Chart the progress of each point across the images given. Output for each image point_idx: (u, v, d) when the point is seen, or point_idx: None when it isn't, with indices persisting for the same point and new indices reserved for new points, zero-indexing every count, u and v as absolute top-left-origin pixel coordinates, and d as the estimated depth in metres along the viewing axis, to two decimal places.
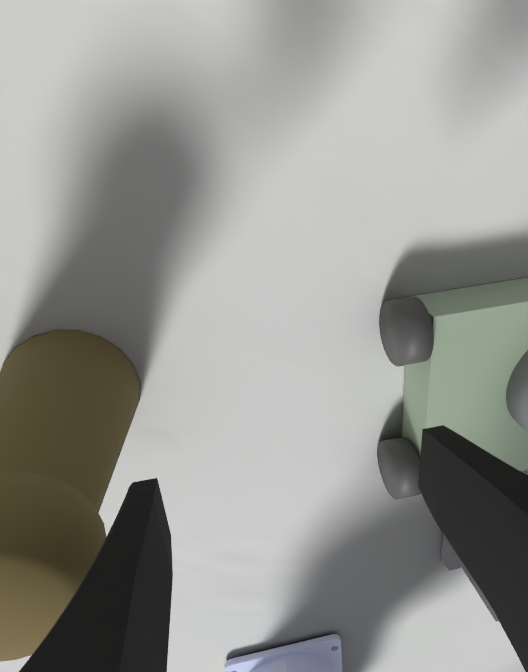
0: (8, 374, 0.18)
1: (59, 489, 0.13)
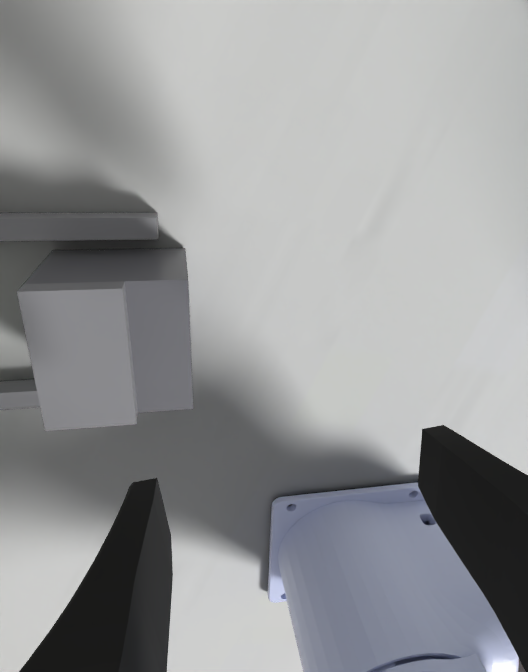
0: None
1: None
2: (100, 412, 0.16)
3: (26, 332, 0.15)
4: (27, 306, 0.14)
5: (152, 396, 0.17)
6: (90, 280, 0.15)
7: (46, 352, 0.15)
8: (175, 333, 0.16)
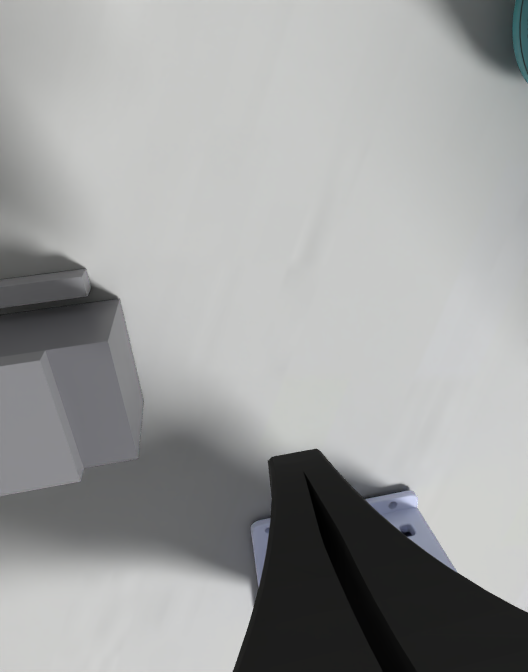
0: None
1: None
2: (43, 474, 0.17)
3: None
4: None
5: (95, 451, 0.17)
6: (13, 353, 0.15)
7: None
8: (105, 391, 0.16)
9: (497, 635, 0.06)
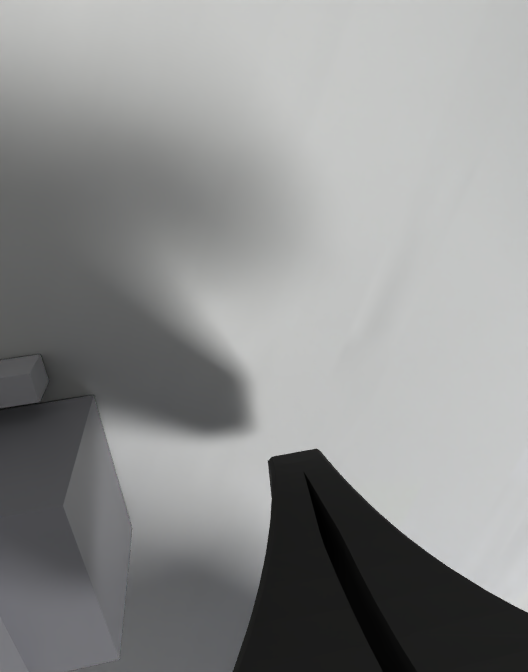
0: None
1: None
2: None
3: None
4: None
5: (49, 657, 0.11)
6: None
7: None
8: (62, 577, 0.10)
9: (497, 635, 0.06)
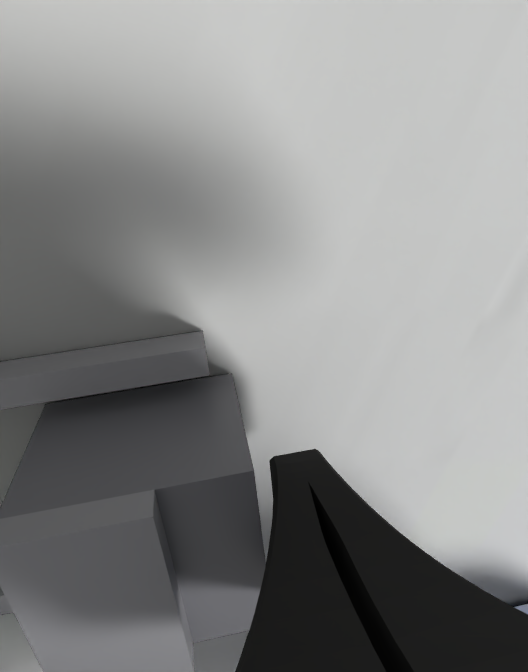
0: None
1: None
2: (139, 670, 0.11)
3: (9, 593, 0.09)
4: (3, 565, 0.09)
5: (212, 621, 0.11)
6: (100, 494, 0.09)
7: (45, 616, 0.09)
8: (239, 541, 0.10)
9: (494, 636, 0.06)
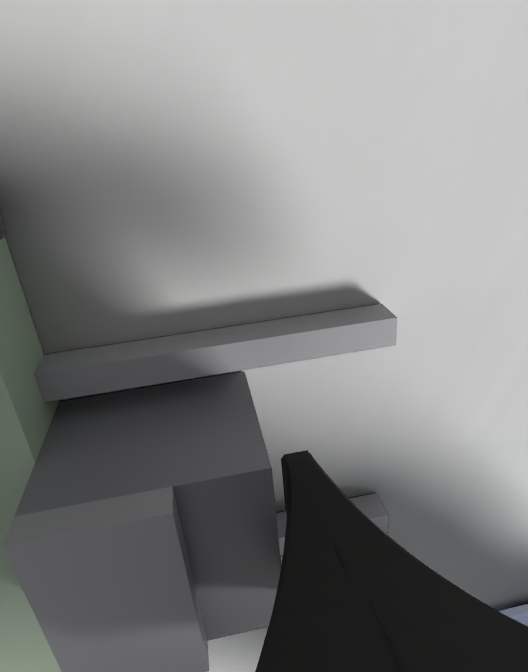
0: None
1: None
2: (154, 667, 0.11)
3: (28, 590, 0.09)
4: (23, 562, 0.09)
5: (227, 618, 0.11)
6: (119, 491, 0.09)
7: (63, 613, 0.09)
8: (255, 538, 0.10)
9: (478, 640, 0.06)
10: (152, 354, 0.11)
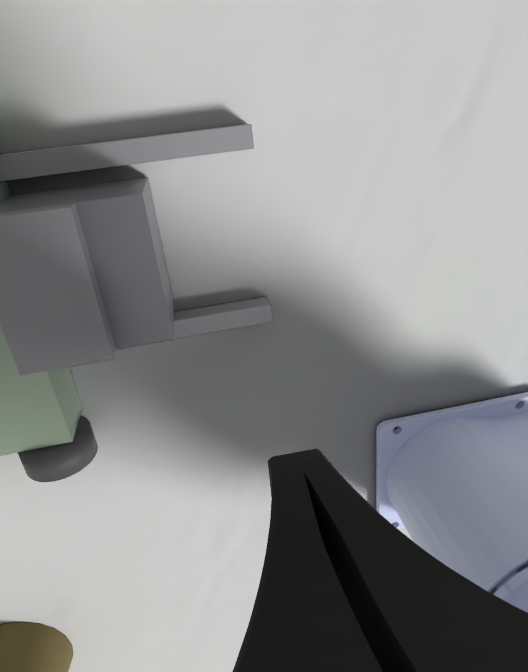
0: None
1: None
2: (73, 349, 0.15)
3: None
4: None
5: (128, 330, 0.16)
6: (39, 207, 0.14)
7: (4, 287, 0.14)
8: (139, 256, 0.15)
9: (497, 636, 0.06)
10: (72, 146, 0.16)
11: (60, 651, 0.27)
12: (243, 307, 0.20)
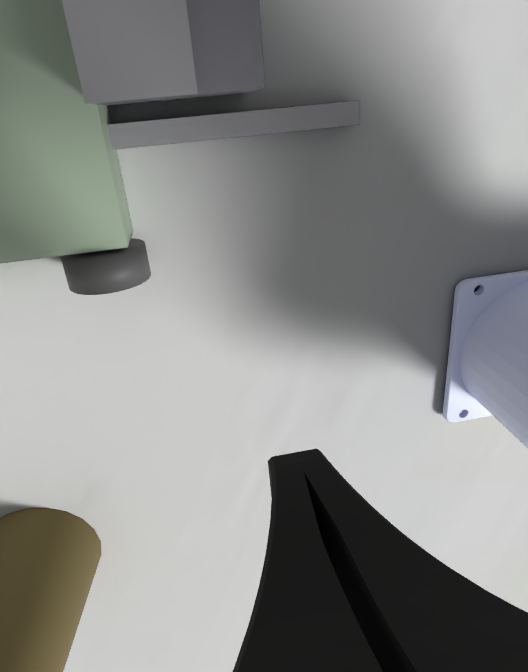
0: None
1: None
2: (151, 71, 0.12)
3: None
4: None
5: (213, 66, 0.13)
6: None
7: None
8: None
9: (497, 636, 0.06)
10: None
11: (89, 544, 0.24)
12: (327, 103, 0.17)
